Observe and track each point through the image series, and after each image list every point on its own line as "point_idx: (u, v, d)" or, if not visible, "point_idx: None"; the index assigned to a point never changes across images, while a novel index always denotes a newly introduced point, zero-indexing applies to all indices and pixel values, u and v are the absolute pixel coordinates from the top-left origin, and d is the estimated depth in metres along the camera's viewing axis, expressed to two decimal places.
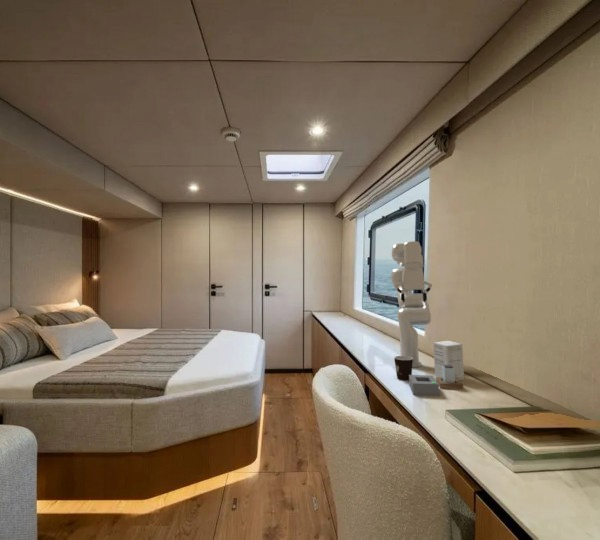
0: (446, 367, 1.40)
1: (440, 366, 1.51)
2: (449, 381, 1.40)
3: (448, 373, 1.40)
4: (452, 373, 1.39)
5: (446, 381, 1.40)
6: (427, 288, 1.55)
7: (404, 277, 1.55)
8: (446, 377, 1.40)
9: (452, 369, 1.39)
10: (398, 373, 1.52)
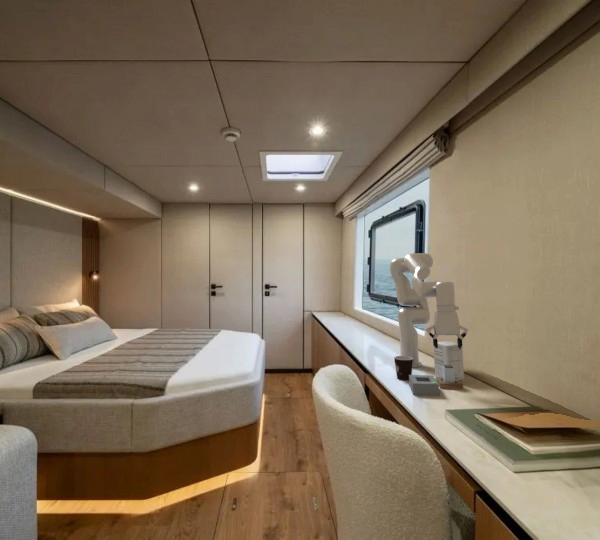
0: (446, 367, 1.40)
1: (440, 366, 1.51)
2: (449, 381, 1.40)
3: (448, 373, 1.40)
4: (452, 373, 1.39)
5: (446, 381, 1.40)
6: (462, 333, 1.41)
7: (437, 321, 1.41)
8: (446, 377, 1.40)
9: (452, 369, 1.39)
10: (398, 373, 1.52)
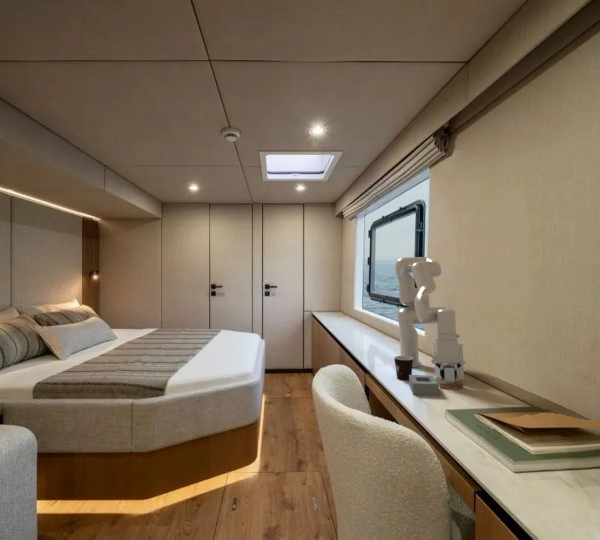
0: (446, 367, 1.40)
1: None
2: (449, 381, 1.40)
3: (448, 373, 1.40)
4: (452, 373, 1.39)
5: (446, 381, 1.40)
6: (457, 364, 1.41)
7: (438, 349, 1.41)
8: (446, 377, 1.40)
9: (452, 369, 1.39)
10: (398, 373, 1.52)
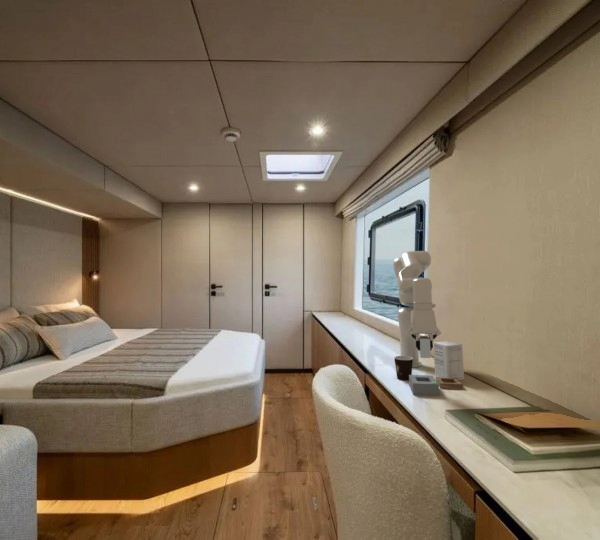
0: (422, 338, 1.36)
1: (440, 366, 1.51)
2: (425, 352, 1.35)
3: (424, 344, 1.35)
4: (428, 344, 1.35)
5: (422, 352, 1.35)
6: (433, 334, 1.36)
7: (413, 319, 1.36)
8: (422, 348, 1.35)
9: (428, 340, 1.35)
10: (398, 373, 1.52)
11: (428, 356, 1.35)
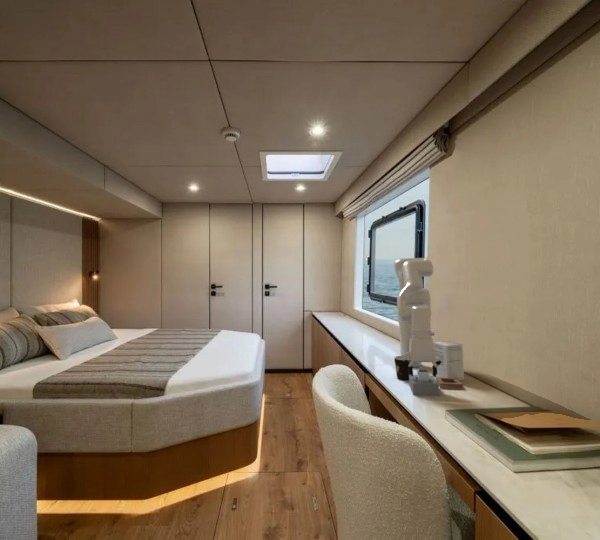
0: (420, 371, 1.35)
1: (440, 366, 1.51)
2: None
3: (422, 378, 1.34)
4: (426, 377, 1.34)
5: None
6: (437, 361, 1.35)
7: (412, 347, 1.35)
8: None
9: (426, 373, 1.34)
10: (398, 373, 1.52)
11: None
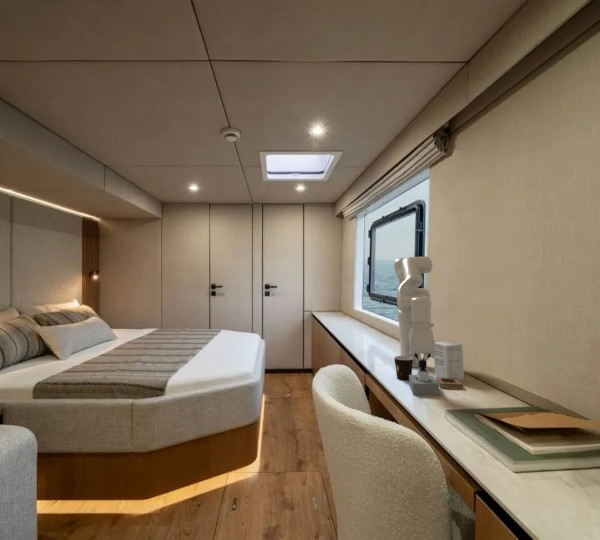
0: (420, 371, 1.35)
1: (440, 366, 1.51)
2: None
3: (422, 378, 1.34)
4: (426, 377, 1.34)
5: None
6: None
7: (411, 338, 1.35)
8: None
9: (426, 373, 1.34)
10: (398, 373, 1.52)
11: None
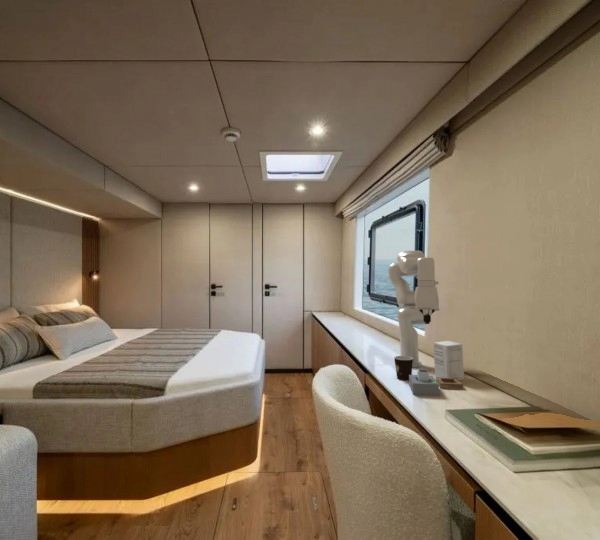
0: (420, 371, 1.35)
1: (440, 366, 1.51)
2: None
3: (422, 377, 1.34)
4: (426, 377, 1.34)
5: None
6: None
7: (417, 295, 1.47)
8: None
9: (426, 373, 1.34)
10: (398, 373, 1.52)
11: None
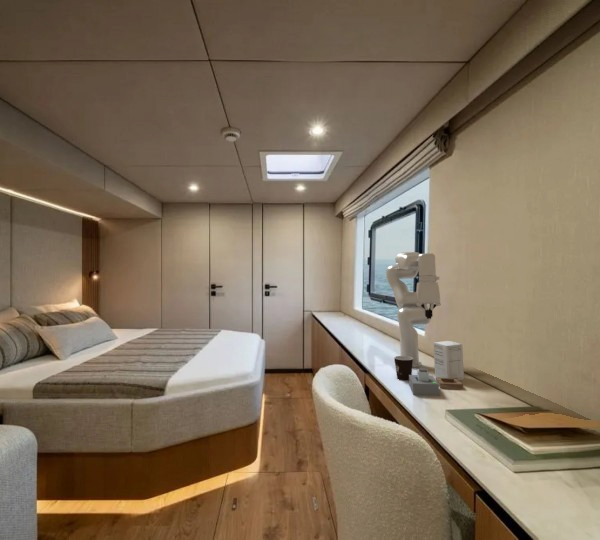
0: (420, 371, 1.35)
1: (440, 366, 1.51)
2: None
3: (422, 377, 1.34)
4: (426, 377, 1.34)
5: None
6: None
7: (419, 290, 1.50)
8: None
9: (426, 373, 1.34)
10: (398, 373, 1.52)
11: None
